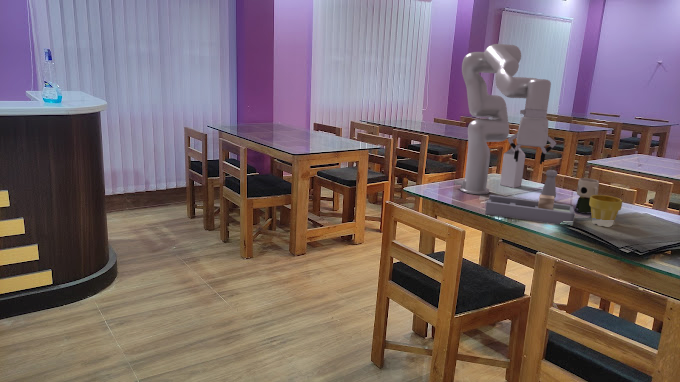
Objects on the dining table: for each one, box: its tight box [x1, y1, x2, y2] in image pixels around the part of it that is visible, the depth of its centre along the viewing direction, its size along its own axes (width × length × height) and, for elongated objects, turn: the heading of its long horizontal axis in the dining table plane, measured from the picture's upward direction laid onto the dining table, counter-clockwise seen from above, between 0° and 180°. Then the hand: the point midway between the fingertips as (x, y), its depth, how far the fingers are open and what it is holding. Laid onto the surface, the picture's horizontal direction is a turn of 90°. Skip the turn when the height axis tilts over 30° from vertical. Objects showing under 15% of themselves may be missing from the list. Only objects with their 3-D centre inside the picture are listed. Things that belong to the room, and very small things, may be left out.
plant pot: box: [589, 194, 623, 220], centre depth 180 cm, size 10×10×10 cm
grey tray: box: [484, 194, 575, 225], centre depth 188 cm, size 30×13×4 cm, turn 69°
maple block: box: [538, 193, 556, 210], centre depth 185 cm, size 5×5×5 cm
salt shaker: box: [540, 169, 558, 199], centre depth 210 cm, size 6×6×13 cm
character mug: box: [574, 177, 600, 214], centre depth 194 cm, size 11×7×13 cm, turn 12°
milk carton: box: [499, 147, 526, 189], centre depth 234 cm, size 7×7×19 cm
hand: (528, 162), depth 184 cm, fingers open, 7 cm apart
